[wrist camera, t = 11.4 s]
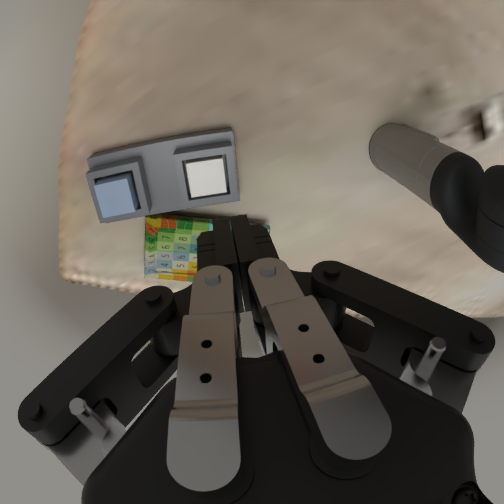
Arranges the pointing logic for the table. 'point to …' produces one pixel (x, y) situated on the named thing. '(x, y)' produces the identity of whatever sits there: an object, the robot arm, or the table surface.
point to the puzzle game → (174, 245)
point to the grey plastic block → (166, 171)
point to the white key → (206, 175)
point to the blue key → (116, 194)
